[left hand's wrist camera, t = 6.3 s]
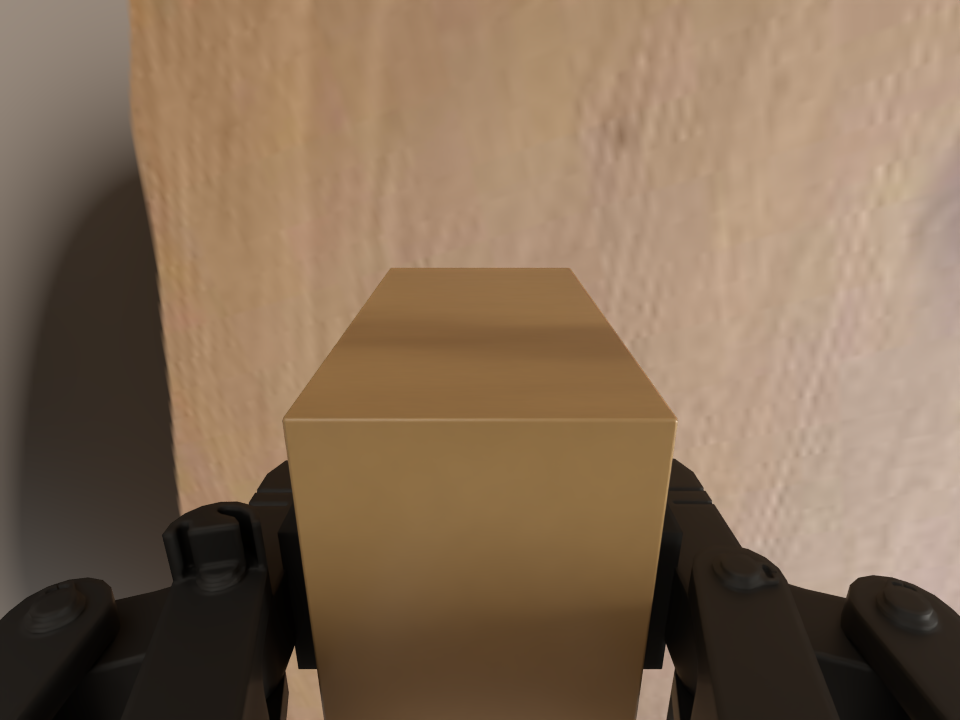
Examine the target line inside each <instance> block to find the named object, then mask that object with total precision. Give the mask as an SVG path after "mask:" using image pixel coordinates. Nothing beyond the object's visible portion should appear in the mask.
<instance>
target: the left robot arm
mask: <svg viewBox="0 0 960 720" xmlns="http://www.w3.org/2000/svg"><path fill="white" fill-rule="evenodd" d="M162 537H163V541H164V545H165V549H166V553H167V557H168V561H169V565H170V570H171V574H172V578H173V583H172V586H171V587H168V588H165V589H161V590H158V591H154V592H150V593H146V594H141V595H137V596H132V597H128V598H123V599H119V600H115V599H114V595H113V592H112V589H111V587H110V586H109V585H108V584H107V583H105V582H104V581H103V580H99V579H94V578H80V579H72V580H67V581H64V582H60V583H58V584H54V585H51V586H48V587H46V588H44V589H42V590H40V591H39V592H37V593H35V594H33V595H31V596H29V597H27V598H26V599H24V600H23V601H22V602H21V603H19V604H18V605H17V606H15V607H14V608H13V609H12V610H10V611H9V612H8V613H7V614H6V615H5V616H4V617H3V618H2V619H1V620H0V720H286V717H287V706H288V696H289V691H288V684H287V678H286V672H285V670H286V668H287V665H288V662H289V659H290V657H291V654H292V651H293V649H294V646H295V649H296V656H297V662H298V669H317V665H316V658H315V651H314V644H313V636H312V629H311V622H310V615H309V608H308V601H307V593H306V586H305V579H304V572H303V565H302V558H301V550H300V543H299V536H298V529H297V522H296V515H295V507H294V500H293V493H292V486H291V479H290V472H289V465H288V460H286V461H285V462H283V463H282V464H280V465H279V466H278V467H276V468H275V469H274V470H272V471H271V472H269V473H268V474H267V475H266V477H265V478H264V480H263V482H262V483H261V485H260V486H259V488H258V489H257V493H255V494H254V496H253V497H252V499H251V500H250V502H249V505H248V504H245V503H241V502H218V503H214V504H209V505H205V506H201V507H199V508H197V509H194V510H192V511H190V512H187V513H185V514H184V515H182V516H181V517H179V518H178V519H177V520H175V521H174V522H172V523H171V524H170V525H169V527H168V528H167V529H166V531H165V532H164V533H163V534H162ZM665 645H667V647H668V650H669V653H670V656H671V658H672V661H673V664H674V666H675V672H674V678H673V683H672V689H671V695H670V701H669V707H668V713H667V720H960V616H959V615H958V614H957V613H956V612H955V611H954V610H953V609H952V608H950V607H949V606H948V605H947V604H945V603H944V602H943V601H941V600H940V599H939V598H938V597H936V596H935V595H933V594H931V593H929V592H927V591H925V590H924V589H922V588H920V587H918V586H916V585H914V584H911V583H908V582H905V581H902V580H898V579H895V578H892V577H884V576H875V575H872V576H866V577H860V578H858V579H856V580H855V581H854V582H853V583H852V584H851V585H850V587H849V590H848V594H847V597H846V598H843V597H838V596H834V595H830V594H825V593H821V592H816V591H812V590H807V589H804V588H800V587H797V586H793V585H790V584H788V582H787V580H786V578H785V577H784V575H783V574H782V572H781V571H780V569H779V568H778V567H777V566H775V565H774V564H773V563H772V562H770V561H769V560H768V559H767V558H765V557H763V556H761V555H759V554H757V553H755V552H753V551H751V550H749V549H745V548H742V547H741V545H740V544H739V542H738V541H737V539H736V537H735V536H734V534H733V533H732V531H731V530H730V528H729V527H728V525H727V524H726V522H725V520H724V519H723V517H722V516H721V514H720V513H719V511H718V510H717V508H716V506H715V505H714V504H712V500H711V499H710V497H709V496H708V494H707V493H706V491H704V490H703V486H702V485H701V483H700V482H699V480H698V479H697V477H696V476H695V474H694V472H692V471H691V470H690V469H688V468H687V467H685V466H684V465H683V464H681V463H680V462H679V461H677V460H676V459H672V466H671V473H670V481H669V488H668V495H667V502H666V509H665V516H664V523H663V531H662V538H661V545H660V552H659V559H658V566H657V573H656V581H655V588H654V595H653V602H652V609H651V616H650V623H649V631H648V638H647V645H646V652H645V659H644V666H643V669H662V665H663V658H664V652H665Z"/></svg>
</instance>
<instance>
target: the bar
mask: <svg viewBox="0 0 960 720" xmlns="http://www.w3.org/2000/svg"><path fill="white" fill-rule="evenodd" d="M282 422H283V429H284V436H285V443H286V450H287V457H288V465H289V472H290V479H291V486H292V493H293V500H294V507H295V515H296V522H297V529H298V536H299V543H300V550H301V558H302V565H303V572H304V579H305V586H306V593H307V601H308V608H309V615H310V622H311V629H312V636H313V644H314V651H315V658H316V665H317V672H318V679H319V687H320V694H321V701H322V708H323V715H324V720H636V716H637V709H638V702H639V695H640V688H641V681H642V674H643V666H644V659H645V652H646V645H647V638H648V631H649V623H650V616H651V609H652V602H653V595H654V588H655V581H656V573H657V566H658V559H659V552H660V545H661V538H662V531H663V523H664V516H665V509H666V502H667V495H668V488H669V481H670V473H671V466H672V459H673V452H674V445H675V438H676V431H677V423H678V420H677V417H676V416H675V415H674V413H673V412H672V410H671V409H670V408H669V406H668V405H667V403H666V402H665V401H664V399H663V398H662V396H661V395H660V394H659V392H658V391H657V389H656V388H655V387H654V385H653V384H652V382H651V381H650V380H649V378H648V377H647V375H646V374H645V373H644V371H643V370H642V368H641V367H640V366H639V364H638V363H637V361H636V360H635V359H634V357H633V356H632V354H631V353H630V352H629V350H628V349H627V347H626V346H625V345H624V343H623V342H622V340H621V339H620V338H619V336H618V335H617V333H616V332H615V331H614V329H613V328H612V326H611V325H610V324H609V322H608V321H607V319H606V318H605V317H604V315H603V314H602V312H601V311H600V310H599V308H598V307H597V305H596V304H595V303H594V301H593V300H592V298H591V297H590V296H589V294H588V293H587V291H586V290H585V289H584V287H583V286H582V284H581V283H580V281H579V280H578V279H577V277H576V276H575V274H574V273H573V272H572V270H571V269H570V268H391V269H390V270H389V271H388V273H387V274H386V275H385V277H384V278H383V280H382V281H381V282H380V284H379V285H378V286H377V288H376V289H375V291H374V292H373V293H372V295H371V296H370V298H369V299H368V300H367V302H366V303H365V305H364V306H363V307H362V309H361V310H360V312H359V313H358V314H357V316H356V317H355V319H354V320H353V321H352V323H351V324H350V326H349V327H348V328H347V330H346V331H345V333H344V334H343V335H342V337H341V338H340V340H339V341H338V342H337V344H336V345H335V346H334V348H333V349H332V351H331V352H330V353H329V355H328V356H327V358H326V359H325V360H324V362H323V363H322V365H321V366H320V367H319V369H318V370H317V372H316V373H315V374H314V376H313V377H312V379H311V380H310V381H309V383H308V384H307V386H306V387H305V388H304V390H303V391H302V393H301V394H300V395H299V397H298V398H297V400H296V401H295V402H294V404H293V405H292V406H291V408H290V409H289V411H288V412H287V413H286V415H285V416H284V418H283V420H282Z"/></svg>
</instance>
